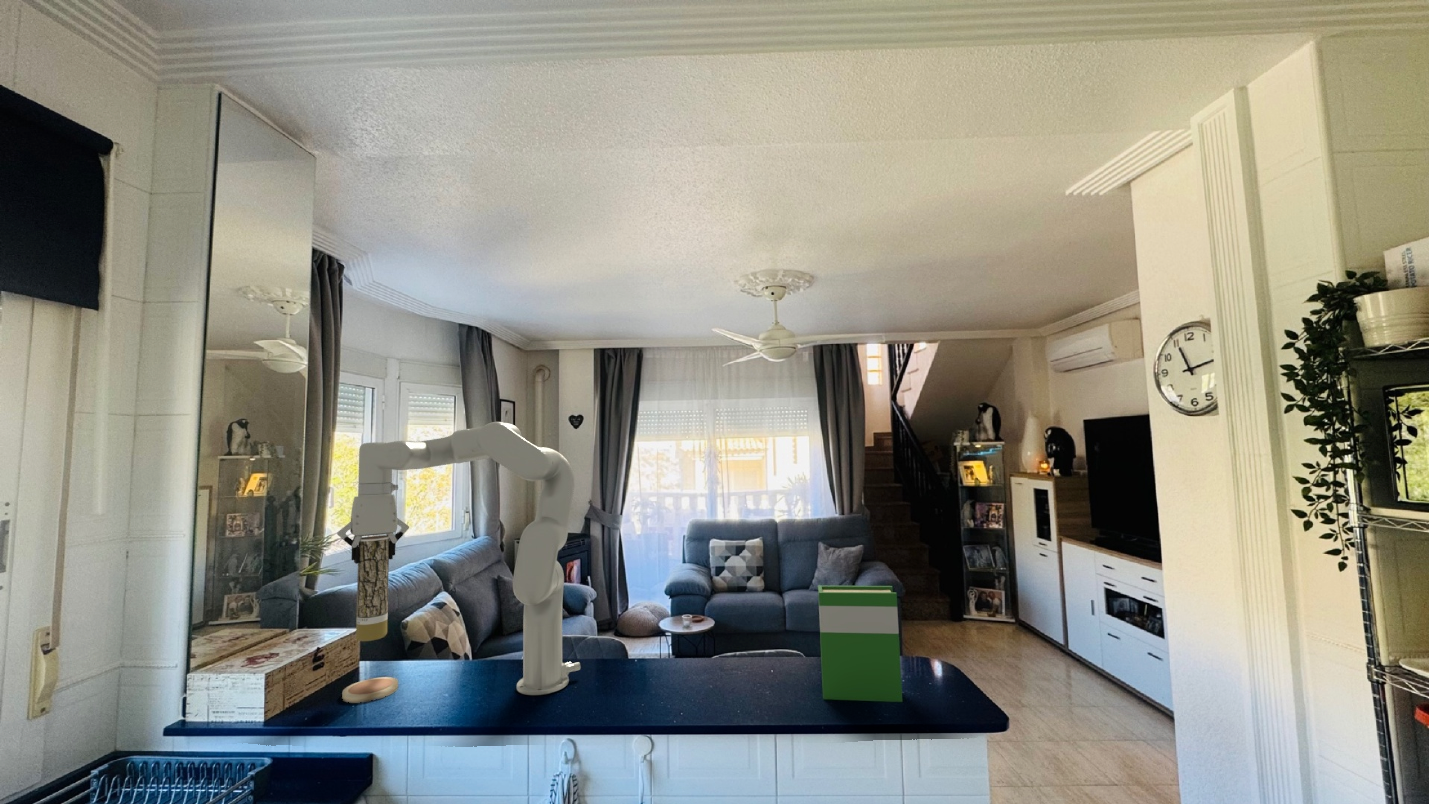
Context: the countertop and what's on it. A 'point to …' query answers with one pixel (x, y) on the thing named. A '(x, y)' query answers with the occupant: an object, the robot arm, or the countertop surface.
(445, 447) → the robot arm
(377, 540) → the paper tube
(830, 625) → the hardback book
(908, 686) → the countertop surface
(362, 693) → the plate
